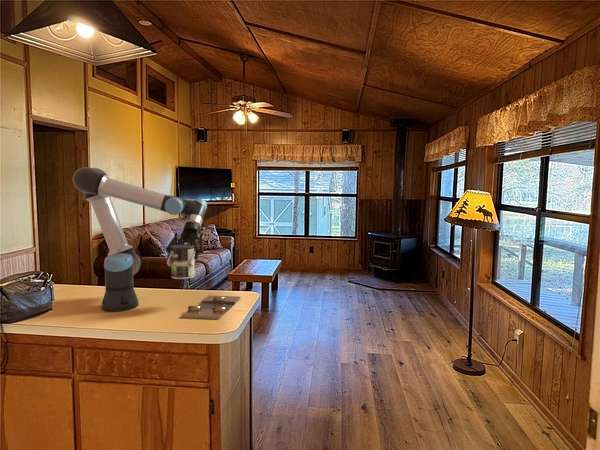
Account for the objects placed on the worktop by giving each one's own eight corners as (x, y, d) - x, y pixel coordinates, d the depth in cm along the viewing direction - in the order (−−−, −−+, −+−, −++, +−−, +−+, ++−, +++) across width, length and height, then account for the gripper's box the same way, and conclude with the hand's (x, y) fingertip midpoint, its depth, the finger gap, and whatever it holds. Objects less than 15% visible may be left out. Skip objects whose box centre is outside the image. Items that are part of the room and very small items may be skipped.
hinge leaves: (181, 317, 164) (181, 311, 164) (208, 297, 195) (208, 292, 195) (219, 319, 162) (218, 312, 162) (240, 298, 193) (240, 293, 192)
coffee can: (177, 280, 172) (176, 248, 171) (167, 276, 179) (166, 245, 178) (199, 276, 179) (198, 245, 178) (188, 273, 186) (187, 243, 185)
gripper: (217, 231, 191) (207, 269, 177) (172, 230, 194) (159, 269, 180) (213, 220, 185) (202, 260, 171) (167, 220, 188) (152, 259, 174)
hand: (180, 264), depth 176 cm, fingers closed on coffee can, 10 cm apart
